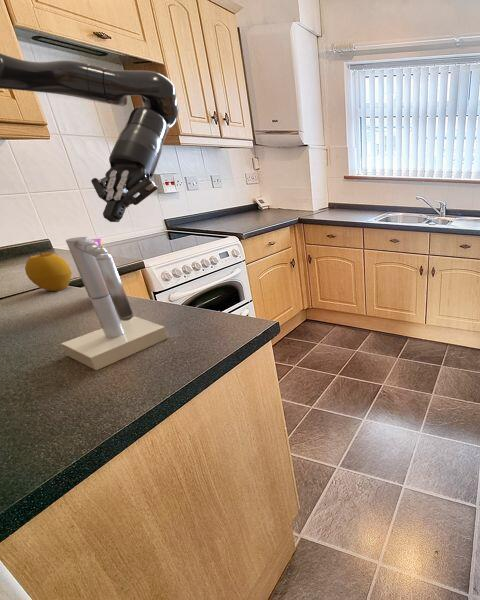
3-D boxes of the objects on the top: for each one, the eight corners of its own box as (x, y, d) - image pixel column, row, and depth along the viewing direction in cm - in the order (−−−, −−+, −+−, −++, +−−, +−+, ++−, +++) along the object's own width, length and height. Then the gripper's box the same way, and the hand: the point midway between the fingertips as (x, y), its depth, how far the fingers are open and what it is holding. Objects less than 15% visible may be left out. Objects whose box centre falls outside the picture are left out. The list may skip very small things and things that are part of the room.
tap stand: (96, 370, 66) (71, 315, 61) (66, 355, 71) (41, 303, 66) (168, 338, 77) (152, 289, 72) (138, 327, 82) (122, 281, 77)
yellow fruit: (48, 285, 108) (31, 250, 104) (84, 282, 111) (69, 247, 106) (27, 296, 100) (9, 258, 95) (67, 292, 103) (51, 255, 98)
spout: (91, 306, 69) (63, 239, 64) (109, 301, 72) (84, 236, 66) (119, 325, 62) (90, 250, 56) (139, 318, 64) (113, 246, 59)
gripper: (178, 165, 76) (156, 230, 70) (122, 165, 77) (95, 230, 70) (155, 138, 69) (128, 208, 63) (93, 138, 70) (60, 208, 63)
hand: (110, 219), depth 67 cm, fingers closed
